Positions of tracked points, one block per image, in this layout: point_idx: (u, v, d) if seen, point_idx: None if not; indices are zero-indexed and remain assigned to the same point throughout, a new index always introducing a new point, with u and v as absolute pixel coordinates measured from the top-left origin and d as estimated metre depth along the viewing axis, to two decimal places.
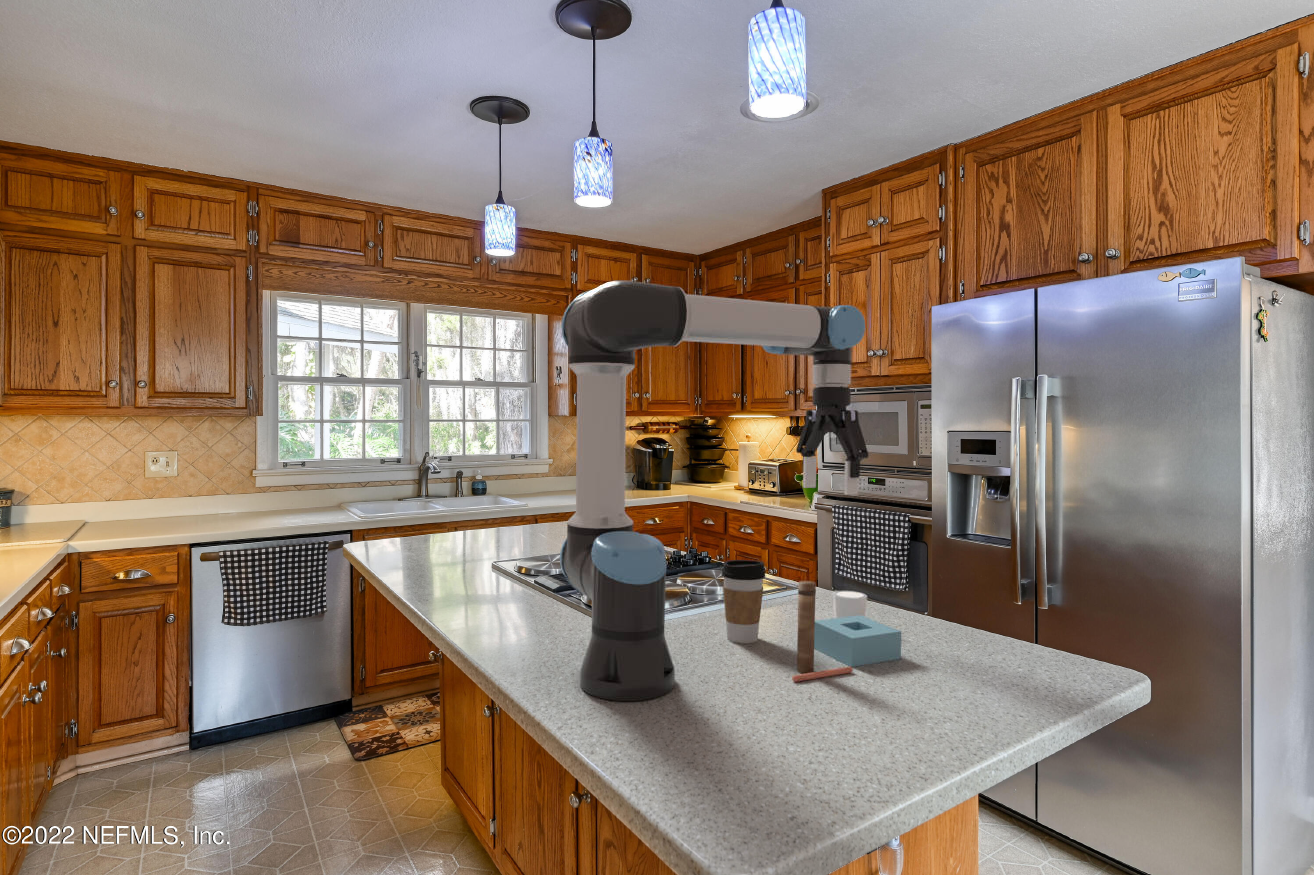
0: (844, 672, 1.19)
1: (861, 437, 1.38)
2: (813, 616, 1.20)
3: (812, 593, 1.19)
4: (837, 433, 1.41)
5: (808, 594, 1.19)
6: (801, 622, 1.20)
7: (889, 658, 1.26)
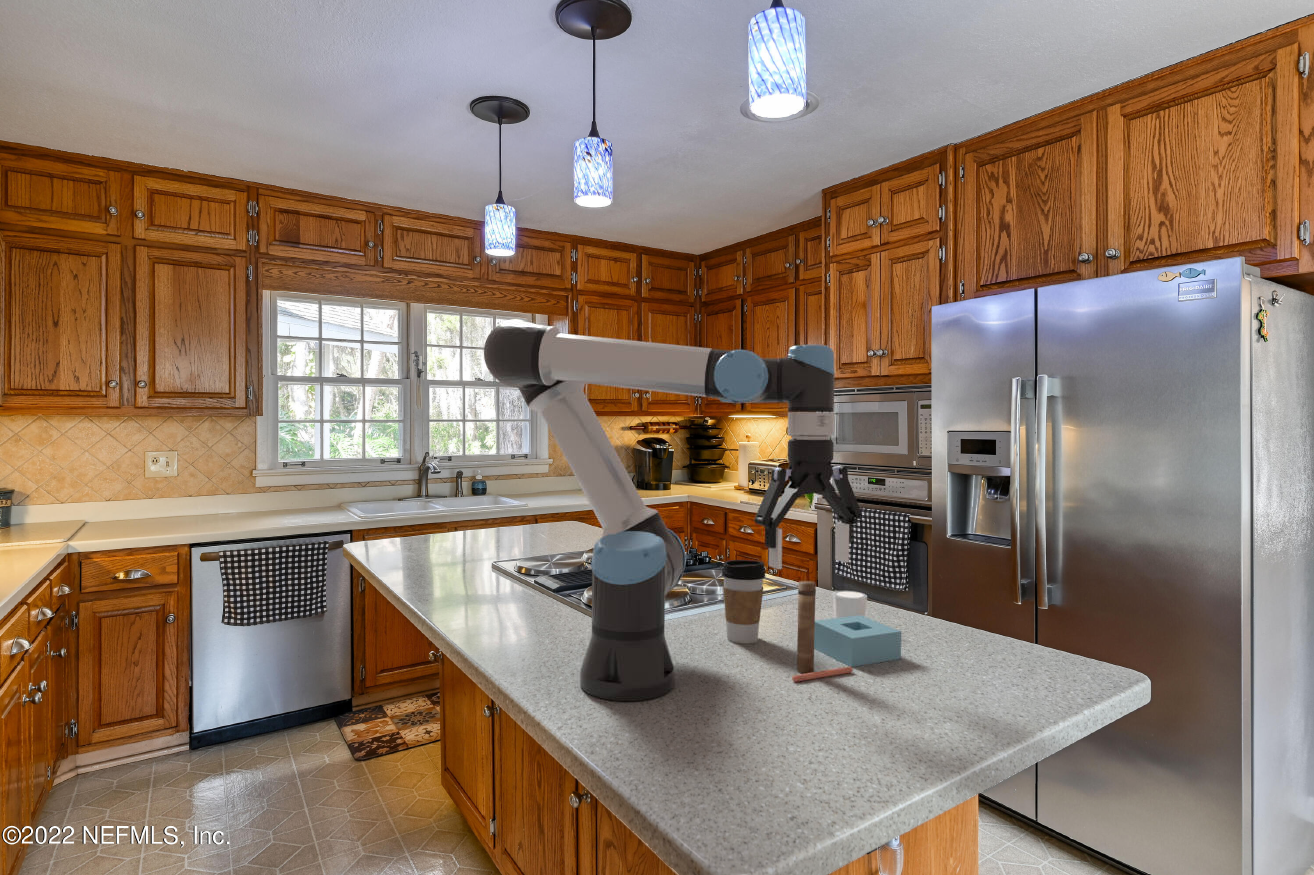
0: (844, 672, 1.19)
1: (769, 500, 1.16)
2: (813, 616, 1.20)
3: (812, 593, 1.19)
4: None
5: (808, 594, 1.19)
6: (801, 622, 1.20)
7: (889, 658, 1.26)
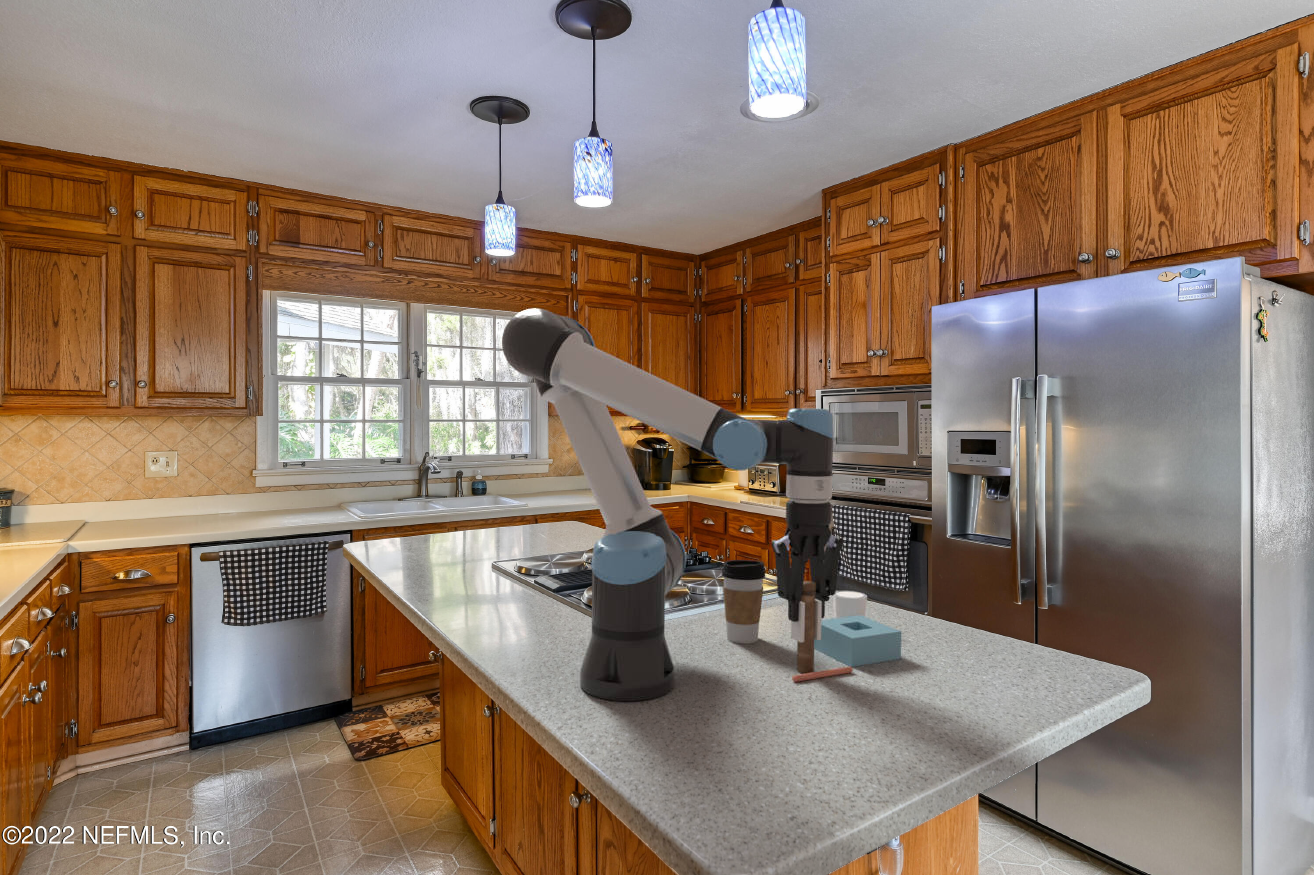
0: (844, 672, 1.19)
1: (783, 576, 1.18)
2: (813, 616, 1.20)
3: (812, 593, 1.19)
4: None
5: (808, 594, 1.19)
6: None
7: (889, 658, 1.26)
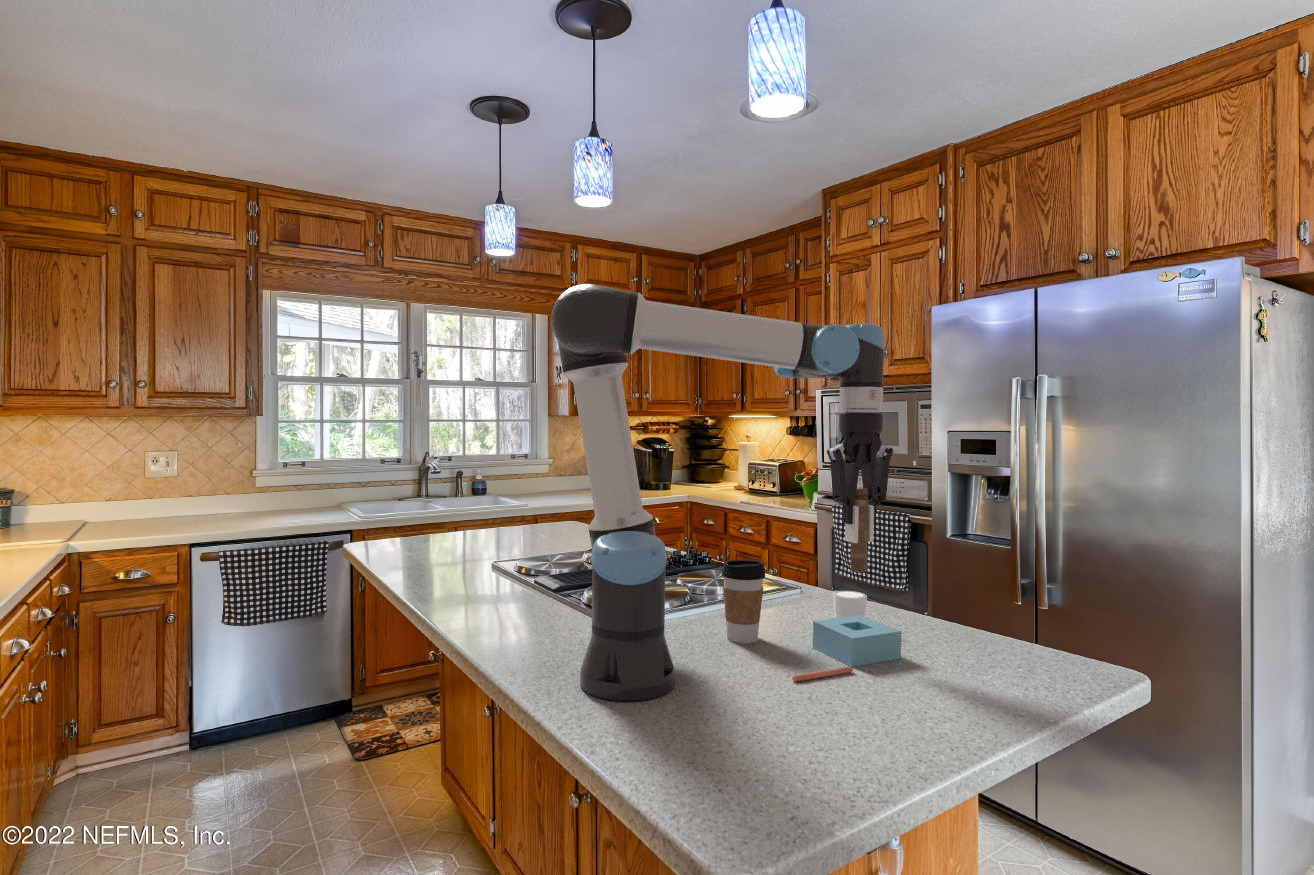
0: (844, 672, 1.19)
1: (838, 480, 1.26)
2: (866, 519, 1.28)
3: (865, 497, 1.28)
4: None
5: (861, 498, 1.28)
6: None
7: (889, 658, 1.26)
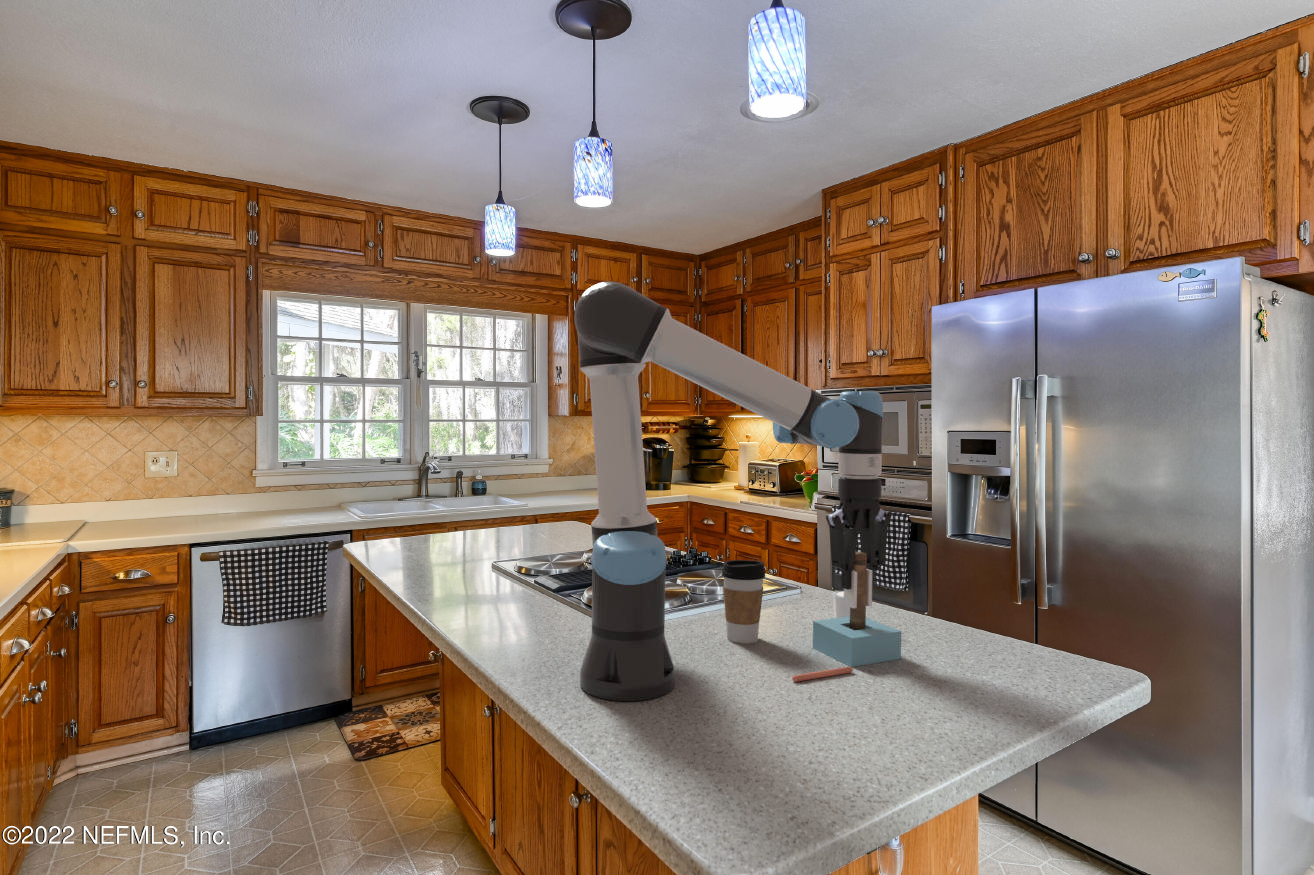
0: (844, 672, 1.19)
1: (837, 547, 1.27)
2: (865, 584, 1.29)
3: (863, 562, 1.28)
4: None
5: (860, 563, 1.28)
6: None
7: (889, 658, 1.26)
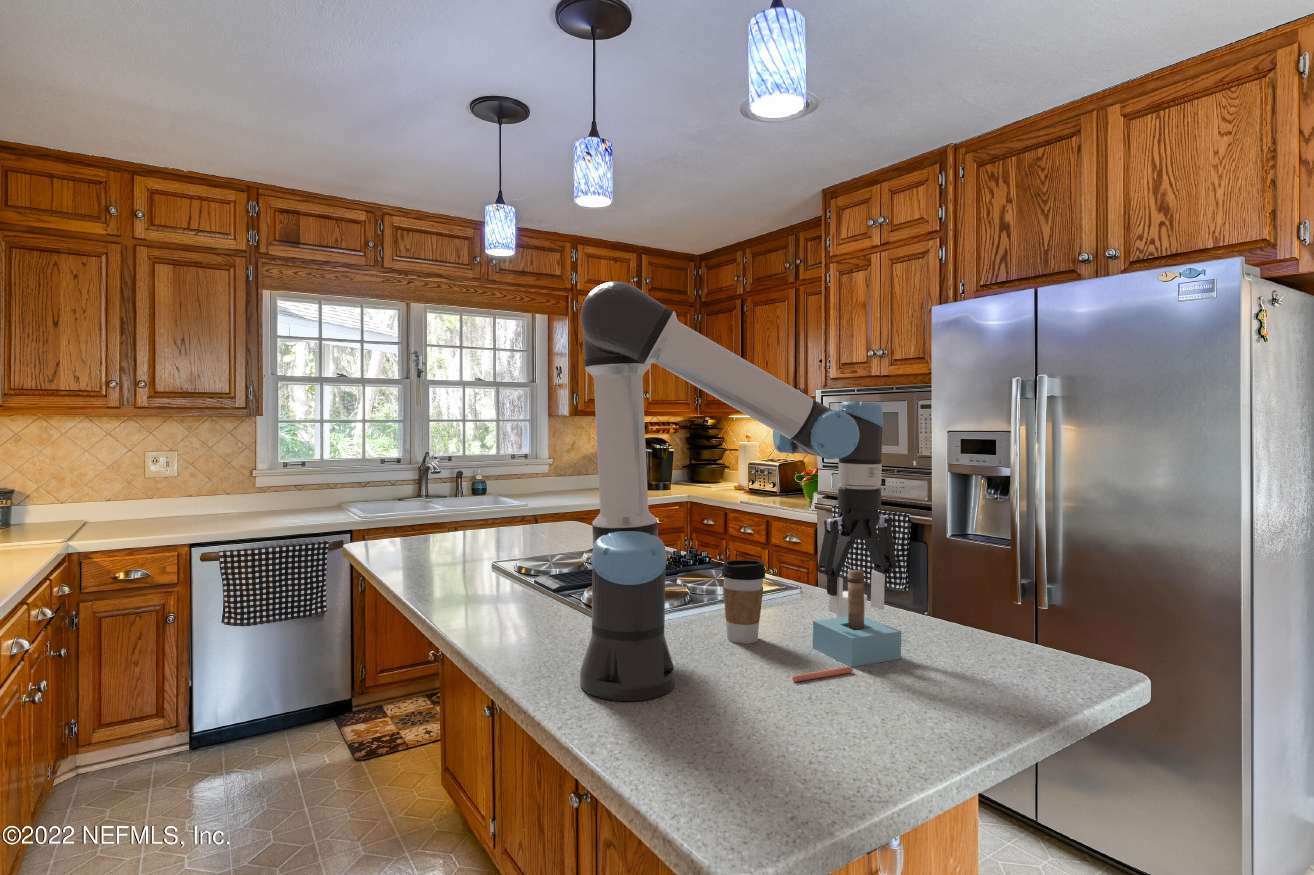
0: (844, 672, 1.19)
1: (828, 551, 1.26)
2: (862, 602, 1.29)
3: (861, 580, 1.28)
4: None
5: (857, 582, 1.28)
6: (851, 608, 1.29)
7: (889, 658, 1.26)
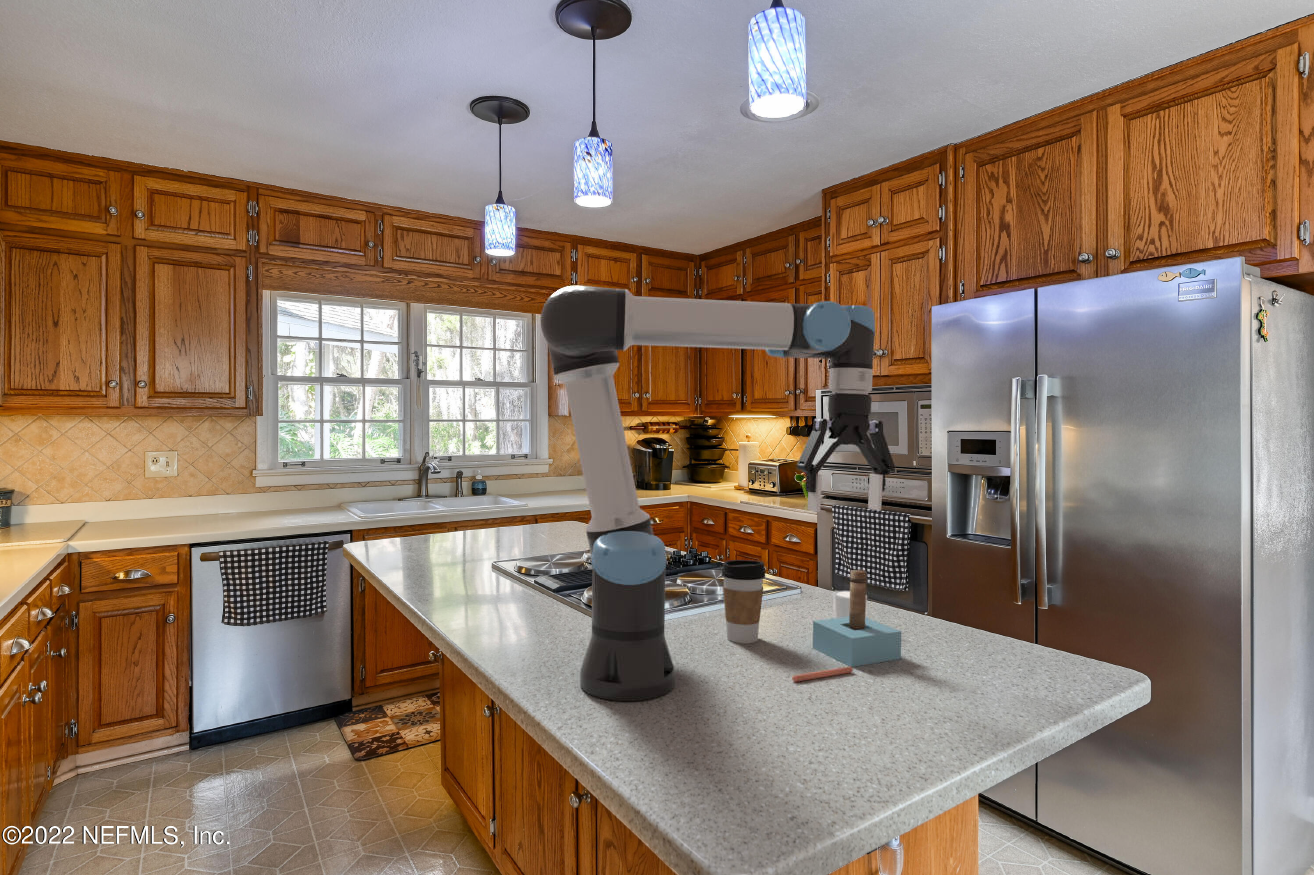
0: (844, 672, 1.19)
1: (811, 448, 1.25)
2: (864, 602, 1.29)
3: (863, 581, 1.29)
4: None
5: (860, 582, 1.28)
6: (853, 608, 1.29)
7: (889, 658, 1.26)
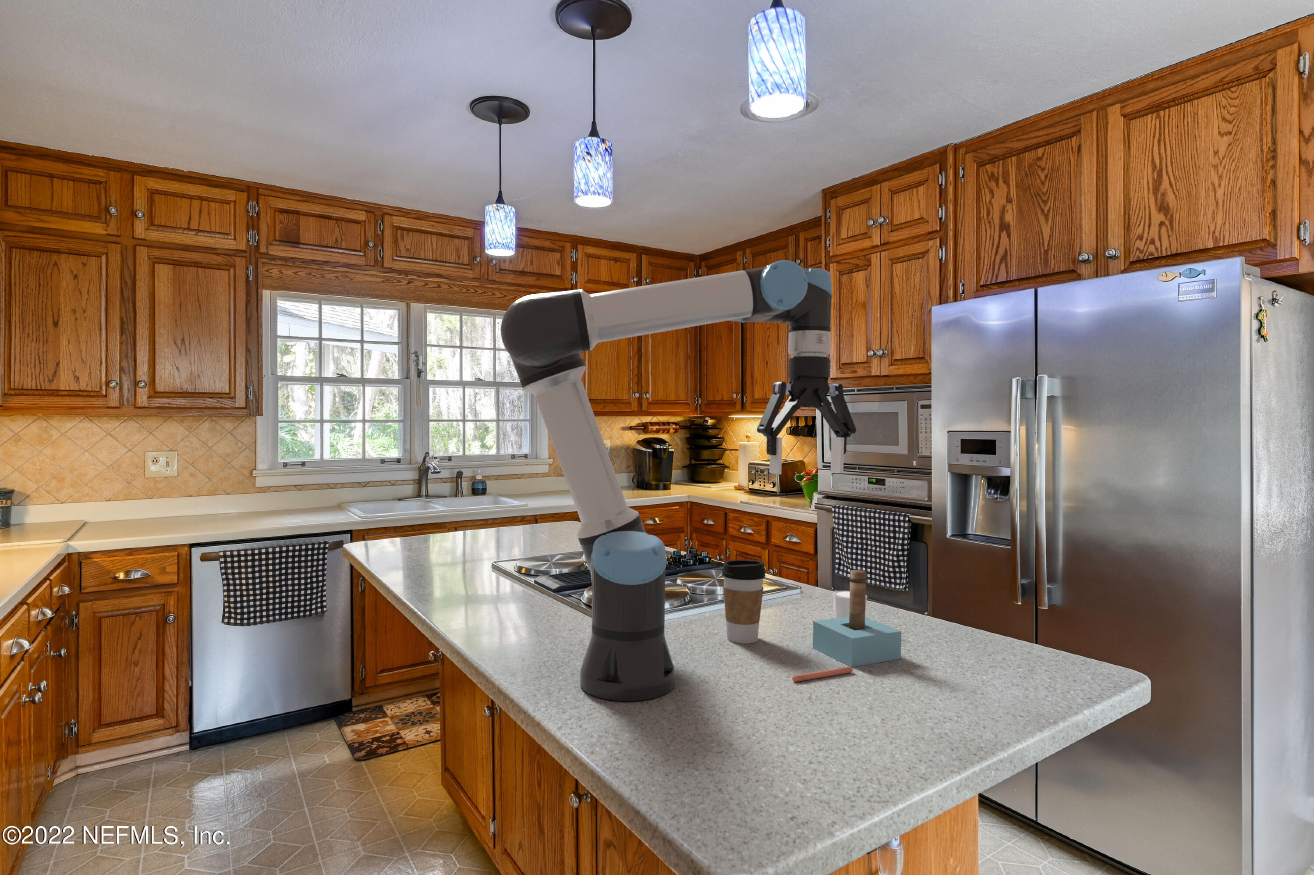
0: (844, 672, 1.19)
1: (770, 411, 1.26)
2: (864, 602, 1.29)
3: (863, 581, 1.29)
4: None
5: (860, 582, 1.28)
6: (853, 608, 1.29)
7: (889, 658, 1.26)
